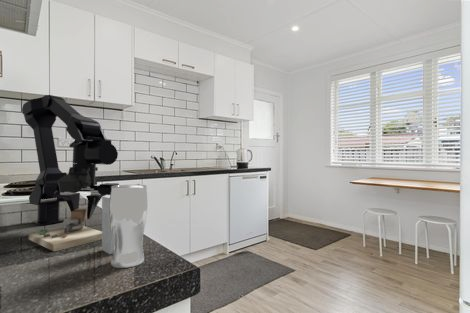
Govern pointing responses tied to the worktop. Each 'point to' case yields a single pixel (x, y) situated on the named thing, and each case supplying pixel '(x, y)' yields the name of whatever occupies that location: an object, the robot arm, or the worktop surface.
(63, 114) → the robot arm
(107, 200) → the skincare box
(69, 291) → the worktop surface
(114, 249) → the beer glass
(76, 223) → the gauge needle
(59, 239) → the dial board
